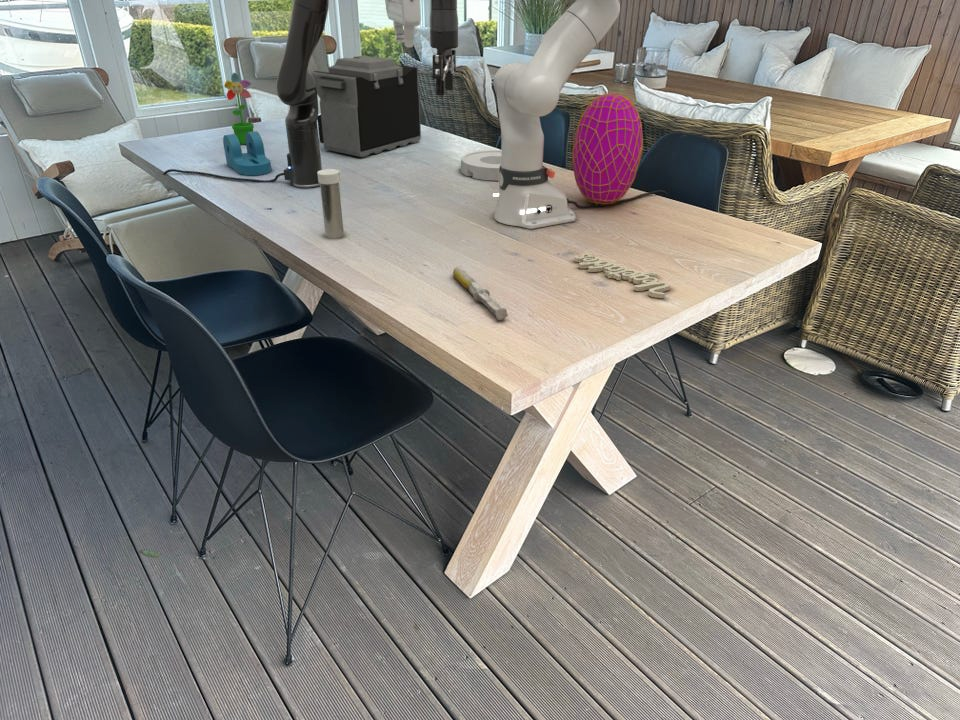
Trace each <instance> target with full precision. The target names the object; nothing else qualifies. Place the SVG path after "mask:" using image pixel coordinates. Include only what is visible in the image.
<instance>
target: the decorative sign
mask: <svg viewBox="0 0 960 720" xmlns="http://www.w3.org/2000/svg"><path fill="white" fill-rule="evenodd" d="M574 262H575V263H578V269H588V270H587V272H588V273H598V272H603V273H604V276H606V277H607V278H608V279H614V280H617V281H621V279H622V280H627V281H628V282H630V283H633V284H634V285H633V291H636V292H643V291H647V290H648V293H647V294H648V296H649V297H652V298H656V299H664V298H665V295H666V292H668V291H669V290H670V289H671V283H670V282H668V281H659V279H658V272H657V271H648V272H639V271H637V270H634V269H630V268H628V267H627V266H626V267H625V266H624V265H619V264H618V263H615V262H611V261H610V260H604V258H601V257H598V256H596V255H592V254H590V253H587V252H586V253H582V254H581V255H580V256H578V255H575V256H574Z"/></svg>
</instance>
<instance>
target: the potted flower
mask: <svg viewBox="0 0 960 720" xmlns="http://www.w3.org/2000/svg"><path fill="white" fill-rule="evenodd" d="M251 84H252V82H251V81H250V80H248V79H242V80H240V76H239V75H238V74H237V72H233V73H232V74H231V77H230V80H226V81H225V82H224V85H223V87H224V88H225V89H227V92H226V98H227V100H229V101H231V100H234V98H235V97H236V98H237V104H238V109H235V110H233V111H232V112H231V113H232V115H235V116H239V118H240V122H236V123H232V124H231V128H232V130H233V134H235V135H236V136H237V138H238V140H239V142H240V145H246V139H245V137H246V133H247V132H254V125H255V124H254V123H253V122H247V121H246V122H244V119H243V112H242V110H244V109H245V108H246V104H241V100H240V96H241V97H242V98H245V99H250V98H252V94H251V92H250V91H249V90H247V89H246V88H249V87H250V86H251Z"/></svg>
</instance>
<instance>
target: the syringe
mask: <svg viewBox="0 0 960 720" xmlns="http://www.w3.org/2000/svg"><path fill="white" fill-rule="evenodd" d="M452 274H453V277H454V279H455V280H457V281H458V282H459V283H460V285H462V287H464V289H466V290H467V291H468V293H470V295H471V296H472V298H473V300H474V302H477V303H478V302H480V303H482V304H483V305H484V306H485V307H486V308H487V309H488V310H489V311H490V312H491V313H492V314H493V315H494V316H495V317H496V320H497V321H503V320H504V319H506V318H507V317H509V314H508V310H507V308H506V307H502V306H501V305H500V303H498V302H497V301H496V300H494V299H493V298H492V297H491V296H490V295H491V293H490V290H488V289H486V288H483V287H482V286H481V285H480V284H479V283H478V282H477V281H476V280H474V278H473V277H471V275H469V274H468V273H467V272H466V270H465V269H464V268H463V267H462V266H456V267H454V268H453V271H452Z"/></svg>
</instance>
